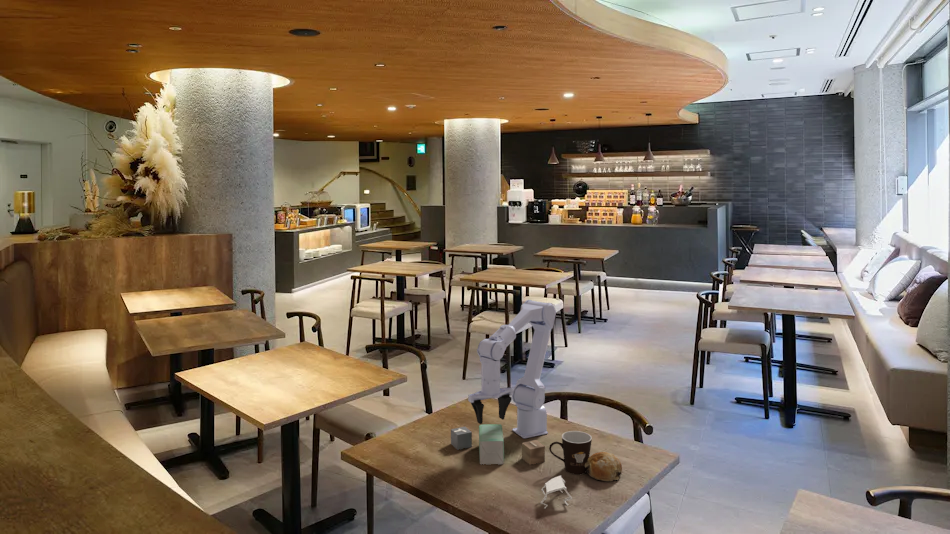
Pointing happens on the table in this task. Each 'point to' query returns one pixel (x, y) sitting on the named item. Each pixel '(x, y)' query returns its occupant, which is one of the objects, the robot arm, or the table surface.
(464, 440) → the charcoal cube
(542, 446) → the brown cardboard cube
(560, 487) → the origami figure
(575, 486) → the table surface
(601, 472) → the bread roll
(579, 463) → the coffee mug
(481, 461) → the box
